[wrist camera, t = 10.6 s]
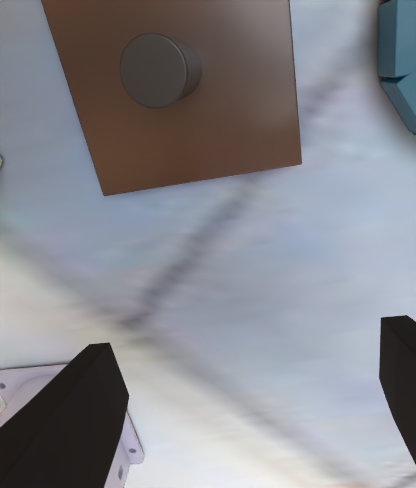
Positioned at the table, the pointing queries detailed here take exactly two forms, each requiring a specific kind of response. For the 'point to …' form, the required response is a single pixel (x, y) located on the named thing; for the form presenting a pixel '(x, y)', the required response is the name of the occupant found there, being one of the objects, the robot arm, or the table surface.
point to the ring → (398, 57)
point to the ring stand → (179, 87)
